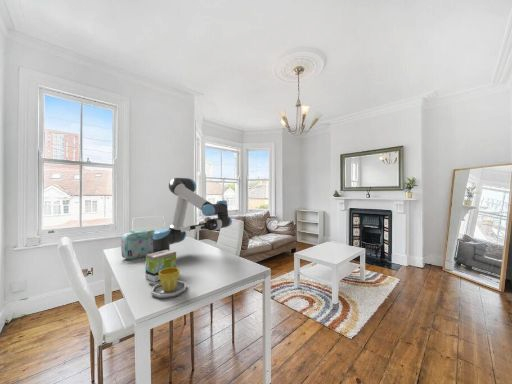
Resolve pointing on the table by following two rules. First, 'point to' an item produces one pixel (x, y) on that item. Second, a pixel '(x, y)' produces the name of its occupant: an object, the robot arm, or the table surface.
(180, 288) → the octagonal handled pan
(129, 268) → the table surface
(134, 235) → the lunch box
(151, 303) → the table surface
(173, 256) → the tea box
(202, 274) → the table surface
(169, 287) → the plant pot
